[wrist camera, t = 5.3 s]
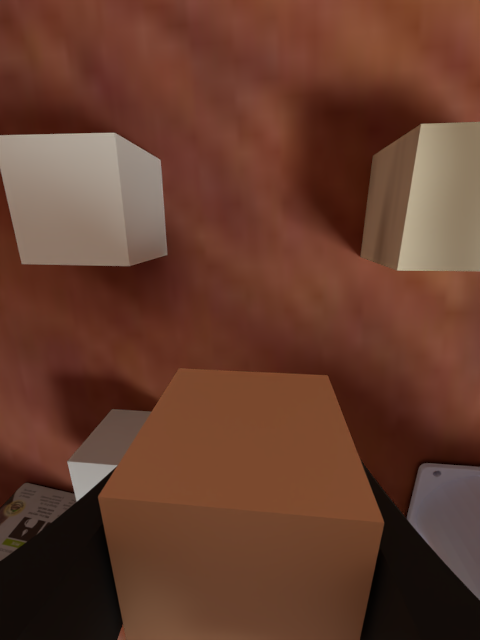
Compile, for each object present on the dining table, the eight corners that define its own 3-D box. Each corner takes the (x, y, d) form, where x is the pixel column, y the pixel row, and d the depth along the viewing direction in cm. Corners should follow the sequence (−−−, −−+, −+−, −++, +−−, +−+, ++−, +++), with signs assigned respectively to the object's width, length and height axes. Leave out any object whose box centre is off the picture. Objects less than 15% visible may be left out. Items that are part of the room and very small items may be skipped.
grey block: (179, 412, 21) (153, 468, 16) (183, 468, 22) (160, 534, 18) (112, 408, 21) (67, 461, 16) (121, 463, 23) (82, 526, 18)
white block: (161, 160, 16) (114, 132, 11) (167, 254, 17) (129, 266, 13) (73, 161, 16) (-8, 135, 11) (87, 253, 18) (21, 264, 13)
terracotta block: (327, 375, 10) (384, 522, 5) (315, 492, 11) (348, 689, 6) (178, 368, 10) (97, 496, 5) (187, 481, 12) (130, 658, 7)
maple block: (478, 153, 14) (582, 118, 10) (455, 257, 16) (534, 271, 11) (372, 156, 15) (421, 123, 10) (359, 256, 16) (397, 270, 12)
